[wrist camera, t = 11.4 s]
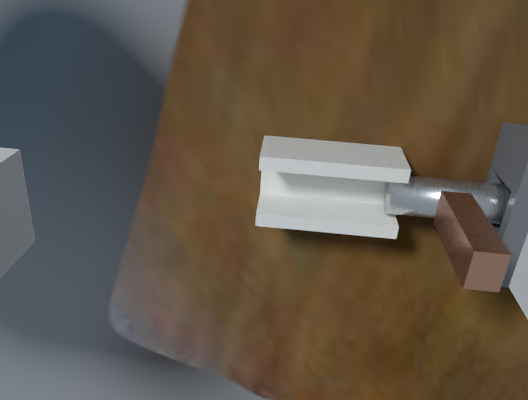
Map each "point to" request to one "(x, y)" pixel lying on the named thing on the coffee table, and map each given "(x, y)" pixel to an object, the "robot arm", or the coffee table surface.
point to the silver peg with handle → (459, 223)
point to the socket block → (512, 189)
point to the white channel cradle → (328, 186)
